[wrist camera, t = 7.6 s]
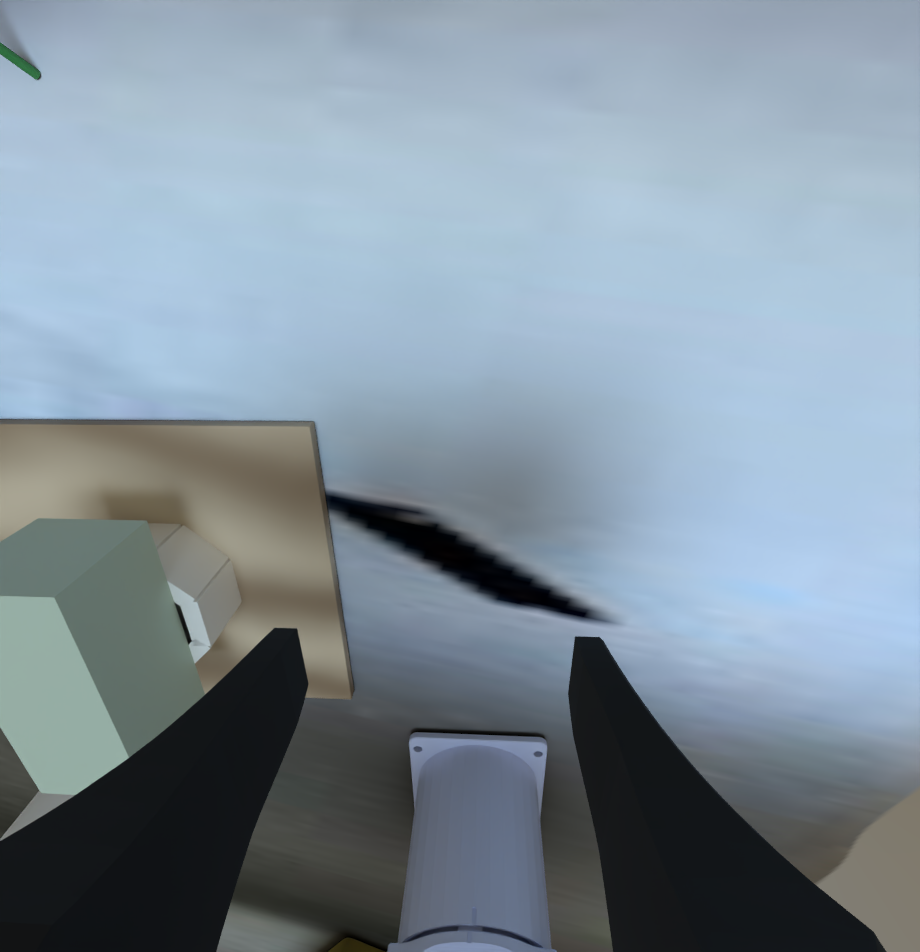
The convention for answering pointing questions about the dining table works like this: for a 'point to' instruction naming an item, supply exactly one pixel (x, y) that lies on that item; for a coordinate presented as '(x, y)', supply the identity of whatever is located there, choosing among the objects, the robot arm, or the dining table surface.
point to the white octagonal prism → (197, 584)
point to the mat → (201, 516)
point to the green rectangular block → (87, 648)
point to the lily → (19, 61)
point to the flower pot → (353, 946)
